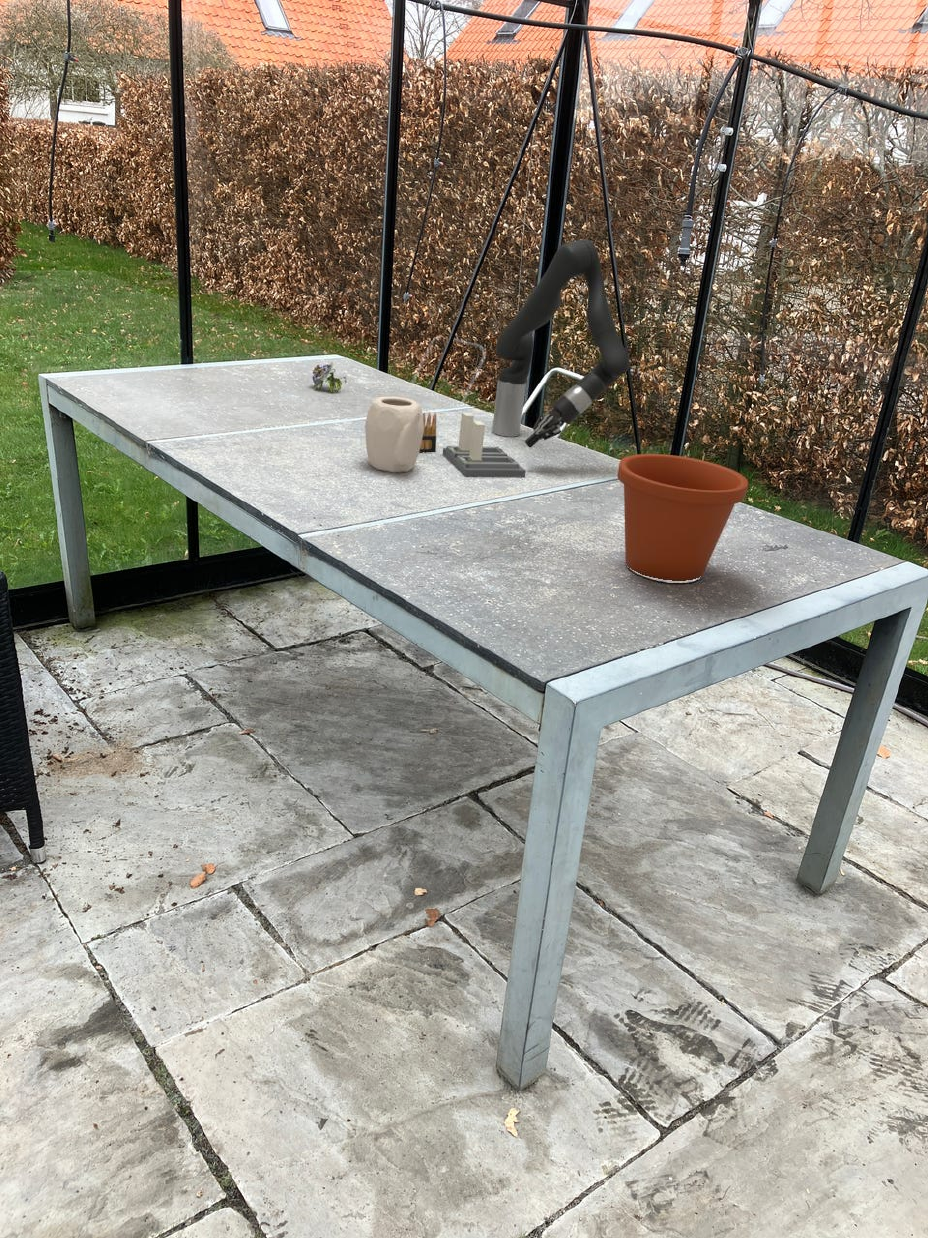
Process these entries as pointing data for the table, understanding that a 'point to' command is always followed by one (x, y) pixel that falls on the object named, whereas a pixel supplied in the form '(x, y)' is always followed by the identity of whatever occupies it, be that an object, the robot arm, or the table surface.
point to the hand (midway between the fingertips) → (527, 444)
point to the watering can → (394, 433)
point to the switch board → (485, 463)
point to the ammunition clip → (429, 435)
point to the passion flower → (326, 377)
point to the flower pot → (675, 512)
